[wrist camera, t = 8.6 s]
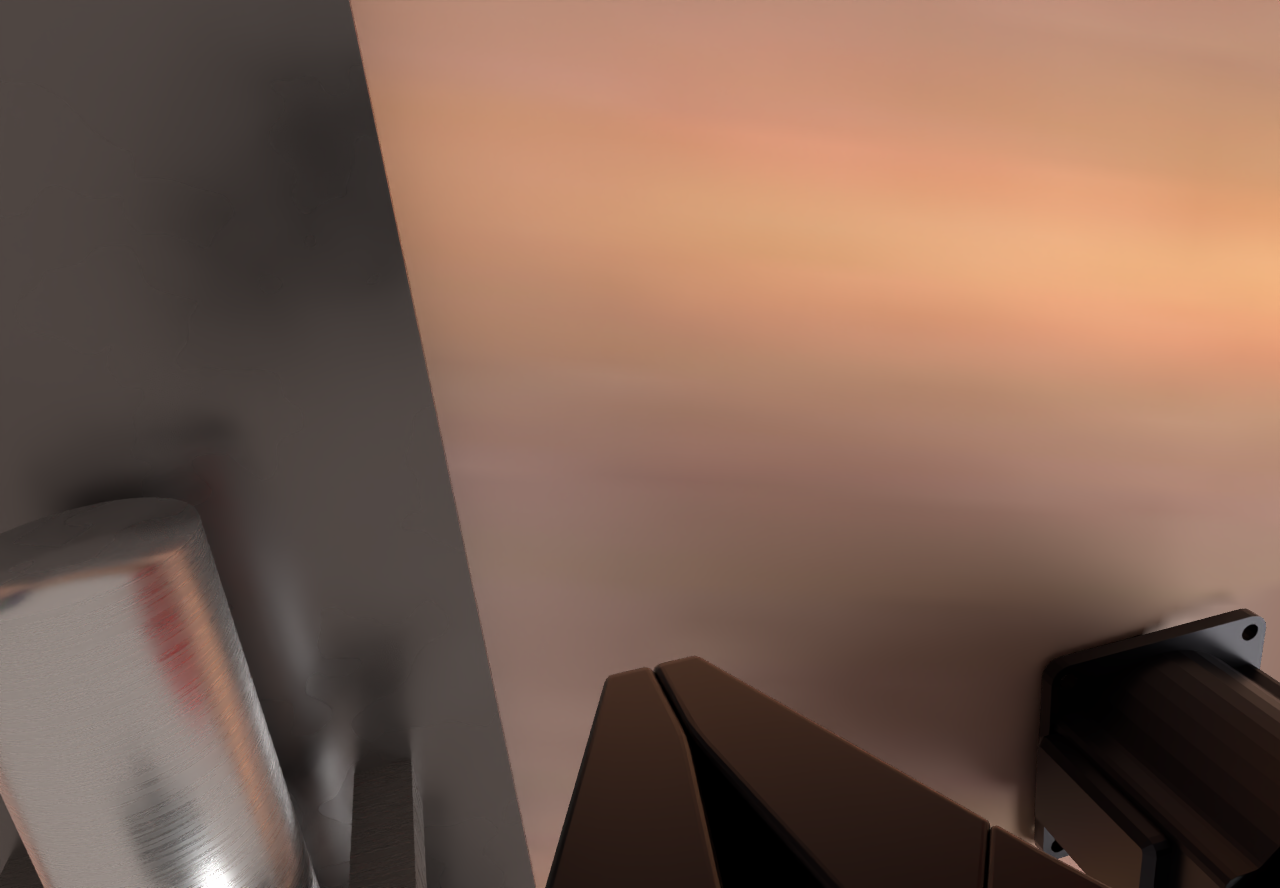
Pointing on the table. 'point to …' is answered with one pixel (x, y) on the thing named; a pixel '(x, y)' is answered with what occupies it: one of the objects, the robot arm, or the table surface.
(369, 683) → the metal cylinder assembly
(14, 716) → the shiny metal cylinder
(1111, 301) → the table surface
